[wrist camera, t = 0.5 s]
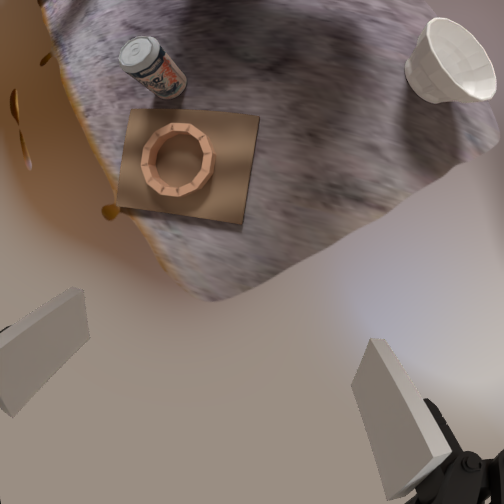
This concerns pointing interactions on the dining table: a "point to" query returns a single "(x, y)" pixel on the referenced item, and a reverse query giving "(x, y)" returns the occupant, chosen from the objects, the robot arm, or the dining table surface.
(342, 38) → the dining table surface
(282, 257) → the dining table surface
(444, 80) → the cup
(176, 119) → the board
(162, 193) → the ring
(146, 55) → the lidded canister
